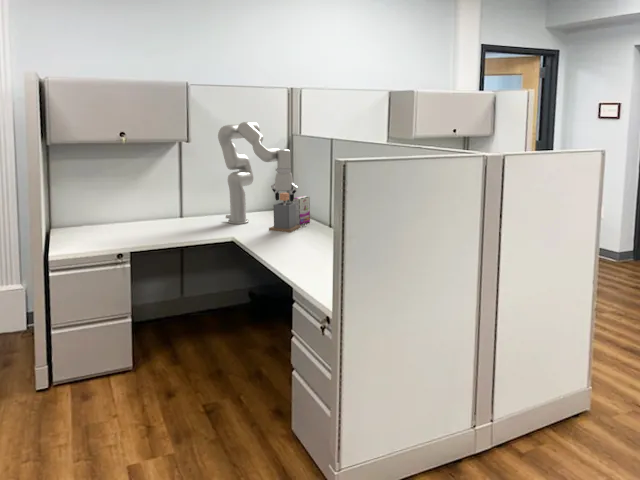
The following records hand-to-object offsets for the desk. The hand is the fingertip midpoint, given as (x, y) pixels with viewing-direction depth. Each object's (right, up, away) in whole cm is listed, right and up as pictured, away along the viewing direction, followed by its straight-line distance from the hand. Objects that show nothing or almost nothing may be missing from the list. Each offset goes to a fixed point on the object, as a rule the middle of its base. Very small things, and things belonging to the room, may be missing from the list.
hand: (284, 200), depth 350 cm
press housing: (0, -17, +4) cm, 17 cm away
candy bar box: (+9, -13, +21) cm, 27 cm away
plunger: (0, -15, +3) cm, 15 cm away
